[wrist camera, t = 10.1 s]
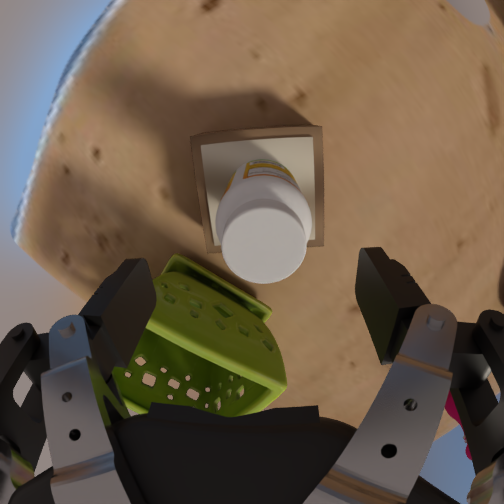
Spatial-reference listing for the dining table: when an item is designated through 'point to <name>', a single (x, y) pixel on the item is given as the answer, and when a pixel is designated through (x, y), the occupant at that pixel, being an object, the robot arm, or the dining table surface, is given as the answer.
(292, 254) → the supplement bottle
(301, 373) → the dining table surface
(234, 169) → the pedestal
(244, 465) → the robot arm
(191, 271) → the flower pot
